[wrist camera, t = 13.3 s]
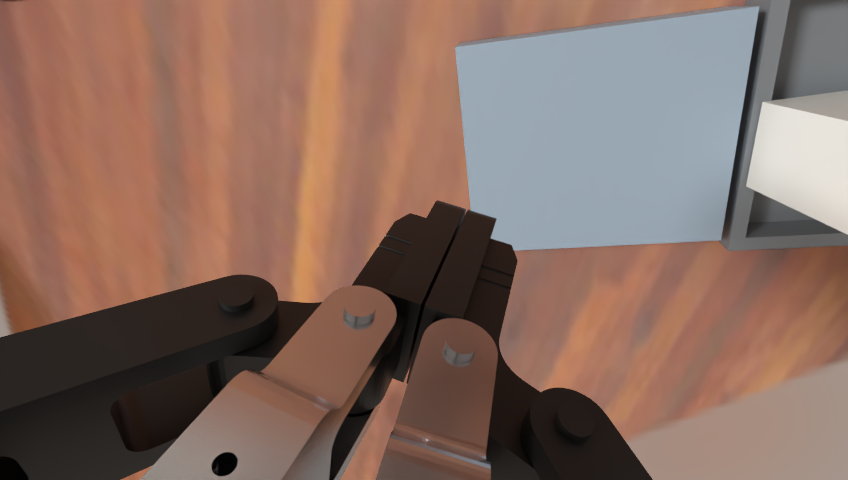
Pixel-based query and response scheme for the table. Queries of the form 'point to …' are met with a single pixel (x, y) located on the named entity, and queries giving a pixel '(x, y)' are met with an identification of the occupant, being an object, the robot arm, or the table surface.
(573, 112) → the plate
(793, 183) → the white rectangular block
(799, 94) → the tray
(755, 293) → the table surface
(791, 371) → the table surface
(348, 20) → the table surface
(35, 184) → the table surface
